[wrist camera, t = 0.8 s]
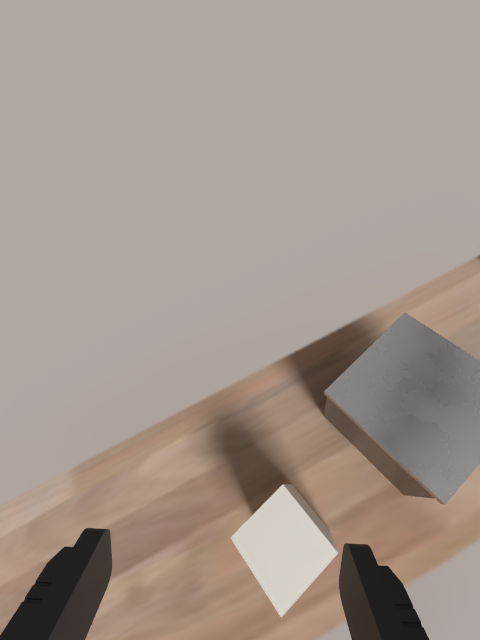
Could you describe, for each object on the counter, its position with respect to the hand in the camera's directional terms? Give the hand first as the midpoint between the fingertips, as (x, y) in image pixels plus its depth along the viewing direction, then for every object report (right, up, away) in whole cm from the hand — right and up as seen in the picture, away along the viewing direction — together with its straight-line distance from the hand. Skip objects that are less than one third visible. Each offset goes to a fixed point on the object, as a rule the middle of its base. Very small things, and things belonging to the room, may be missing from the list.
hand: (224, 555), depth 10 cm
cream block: (+6, -12, +19) cm, 23 cm away
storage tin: (+17, -3, +21) cm, 27 cm away
